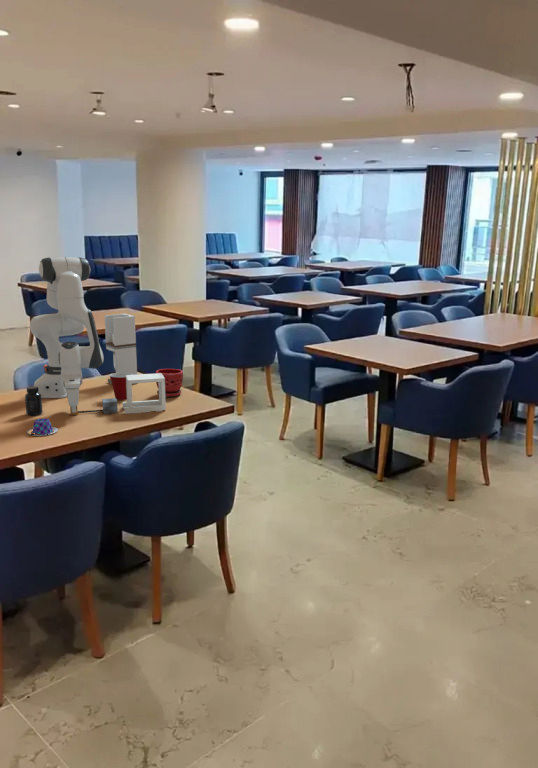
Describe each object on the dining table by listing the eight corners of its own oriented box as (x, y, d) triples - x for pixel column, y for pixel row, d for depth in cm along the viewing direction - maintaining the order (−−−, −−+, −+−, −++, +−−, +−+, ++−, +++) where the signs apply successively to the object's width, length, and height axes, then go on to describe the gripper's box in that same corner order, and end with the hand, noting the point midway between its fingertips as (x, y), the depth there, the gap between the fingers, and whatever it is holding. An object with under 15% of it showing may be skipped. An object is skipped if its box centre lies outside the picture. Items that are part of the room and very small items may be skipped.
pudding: (20, 435, 275) (19, 422, 274) (40, 426, 286) (39, 414, 285) (44, 439, 271) (43, 426, 270) (64, 430, 282) (63, 417, 280)
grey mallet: (70, 416, 299) (70, 404, 298) (70, 412, 305) (69, 401, 303) (117, 412, 305) (117, 401, 303) (116, 408, 310) (116, 398, 309)
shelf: (124, 413, 304) (123, 380, 300) (122, 407, 313) (121, 375, 309) (165, 410, 309) (164, 378, 305) (162, 404, 318) (161, 373, 314)
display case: (127, 379, 364) (125, 313, 356) (137, 383, 356) (134, 316, 348) (107, 382, 357) (104, 315, 349) (117, 386, 349) (113, 318, 341)
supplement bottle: (46, 412, 304) (44, 386, 301) (36, 416, 298) (34, 390, 295) (33, 411, 307) (30, 384, 304) (22, 415, 300) (20, 388, 297)
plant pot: (181, 398, 329) (181, 373, 326) (154, 398, 329) (153, 373, 326) (184, 391, 342) (184, 367, 339) (158, 391, 342) (157, 367, 339)
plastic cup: (136, 395, 333) (135, 371, 330) (129, 401, 322) (128, 376, 319) (114, 395, 334) (113, 370, 331) (107, 401, 323) (105, 376, 320)
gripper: (63, 374, 307) (65, 404, 311) (64, 385, 288) (66, 417, 292) (78, 374, 309) (80, 403, 312) (80, 384, 290) (82, 416, 293)
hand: (73, 410), depth 302 cm, fingers closed on grey mallet, 3 cm apart
